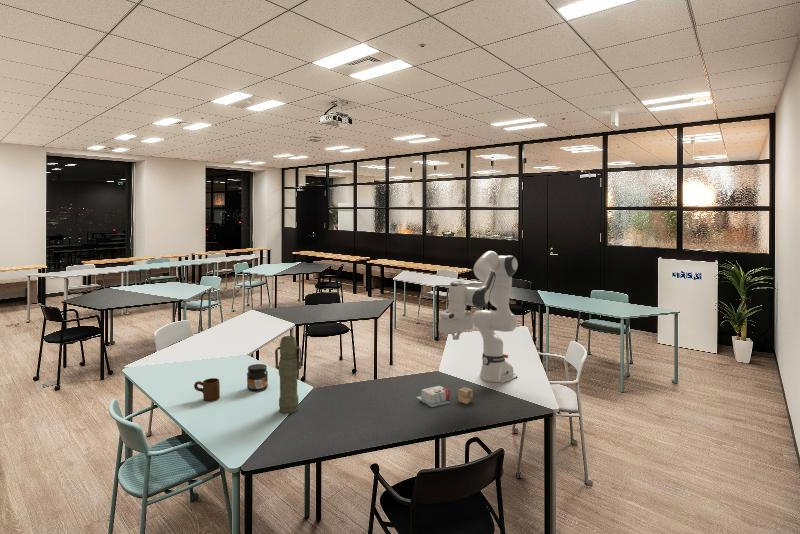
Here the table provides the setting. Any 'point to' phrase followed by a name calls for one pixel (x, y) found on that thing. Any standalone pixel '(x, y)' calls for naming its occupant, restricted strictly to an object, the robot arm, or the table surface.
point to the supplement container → (257, 377)
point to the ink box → (435, 394)
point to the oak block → (465, 395)
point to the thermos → (288, 374)
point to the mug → (209, 389)
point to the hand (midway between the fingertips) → (455, 339)
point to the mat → (433, 403)
